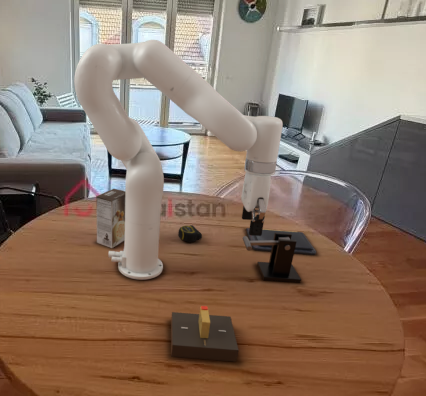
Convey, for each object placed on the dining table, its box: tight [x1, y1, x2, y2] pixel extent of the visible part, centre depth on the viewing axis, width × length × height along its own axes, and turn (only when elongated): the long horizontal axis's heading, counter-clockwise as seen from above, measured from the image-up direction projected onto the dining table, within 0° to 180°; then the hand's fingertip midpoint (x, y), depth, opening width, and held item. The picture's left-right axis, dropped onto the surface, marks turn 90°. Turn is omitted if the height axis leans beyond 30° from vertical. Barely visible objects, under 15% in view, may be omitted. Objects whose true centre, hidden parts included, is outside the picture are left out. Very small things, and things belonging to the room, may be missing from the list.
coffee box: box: [95, 188, 125, 249], centre depth 115 cm, size 9×6×16 cm
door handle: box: [242, 235, 290, 252], centre depth 101 cm, size 12×6×2 cm, turn 87°
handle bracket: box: [256, 232, 302, 284], centre depth 102 cm, size 10×8×12 cm
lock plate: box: [170, 311, 239, 363], centre depth 77 cm, size 13×10×3 cm
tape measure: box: [177, 225, 203, 243], centre depth 120 cm, size 7×7×4 cm
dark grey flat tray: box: [245, 227, 317, 256], centre depth 122 cm, size 20×2×15 cm
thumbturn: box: [198, 305, 210, 338], centre depth 76 cm, size 5×2×4 cm, turn 176°
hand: (251, 226), depth 99 cm, fingers open, 9 cm apart
